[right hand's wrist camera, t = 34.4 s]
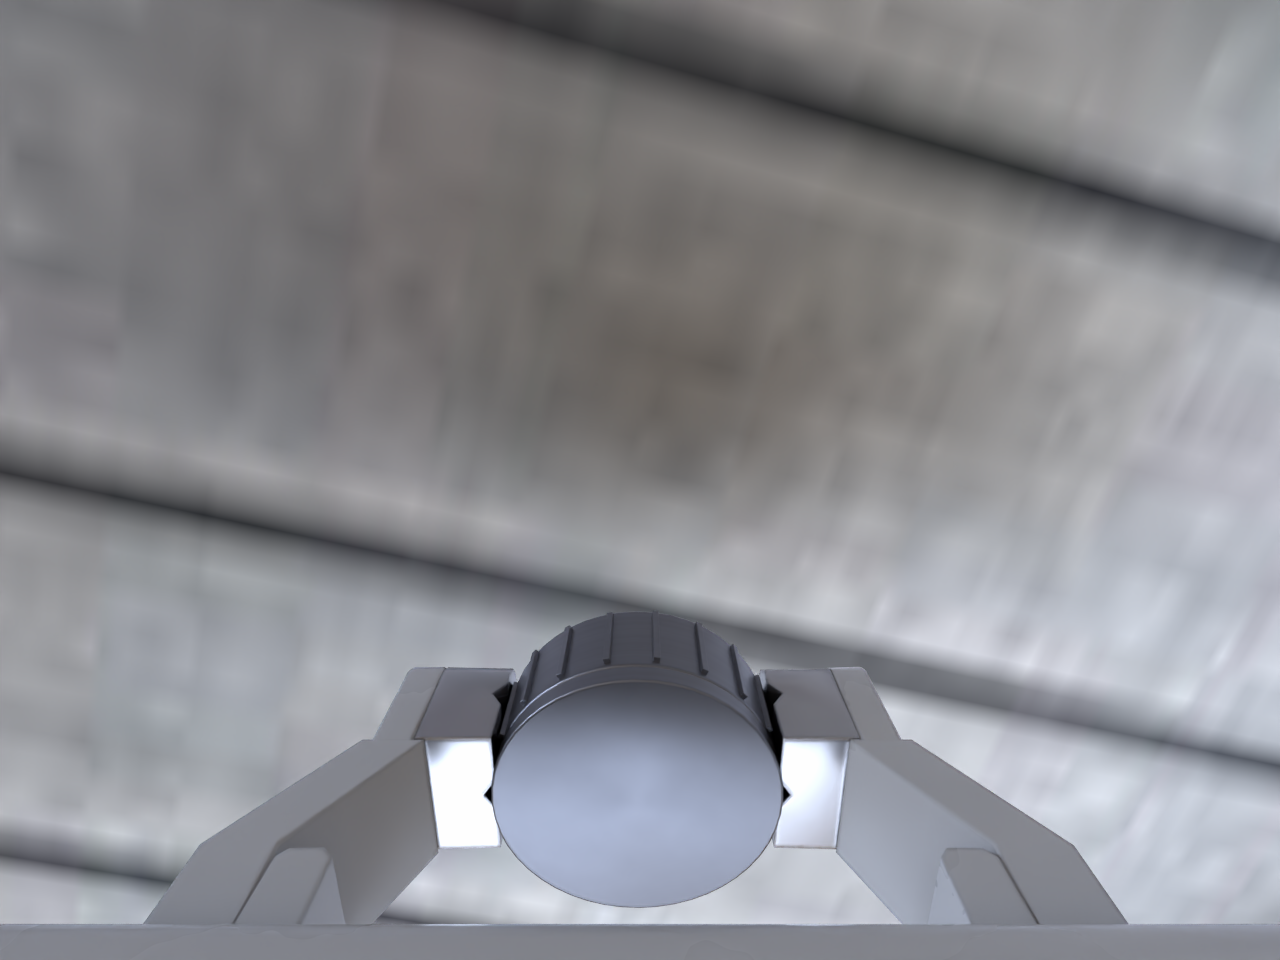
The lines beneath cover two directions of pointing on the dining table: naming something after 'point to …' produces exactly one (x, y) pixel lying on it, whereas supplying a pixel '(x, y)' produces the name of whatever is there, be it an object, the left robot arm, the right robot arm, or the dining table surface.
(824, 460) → the dining table surface
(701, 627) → the cap
